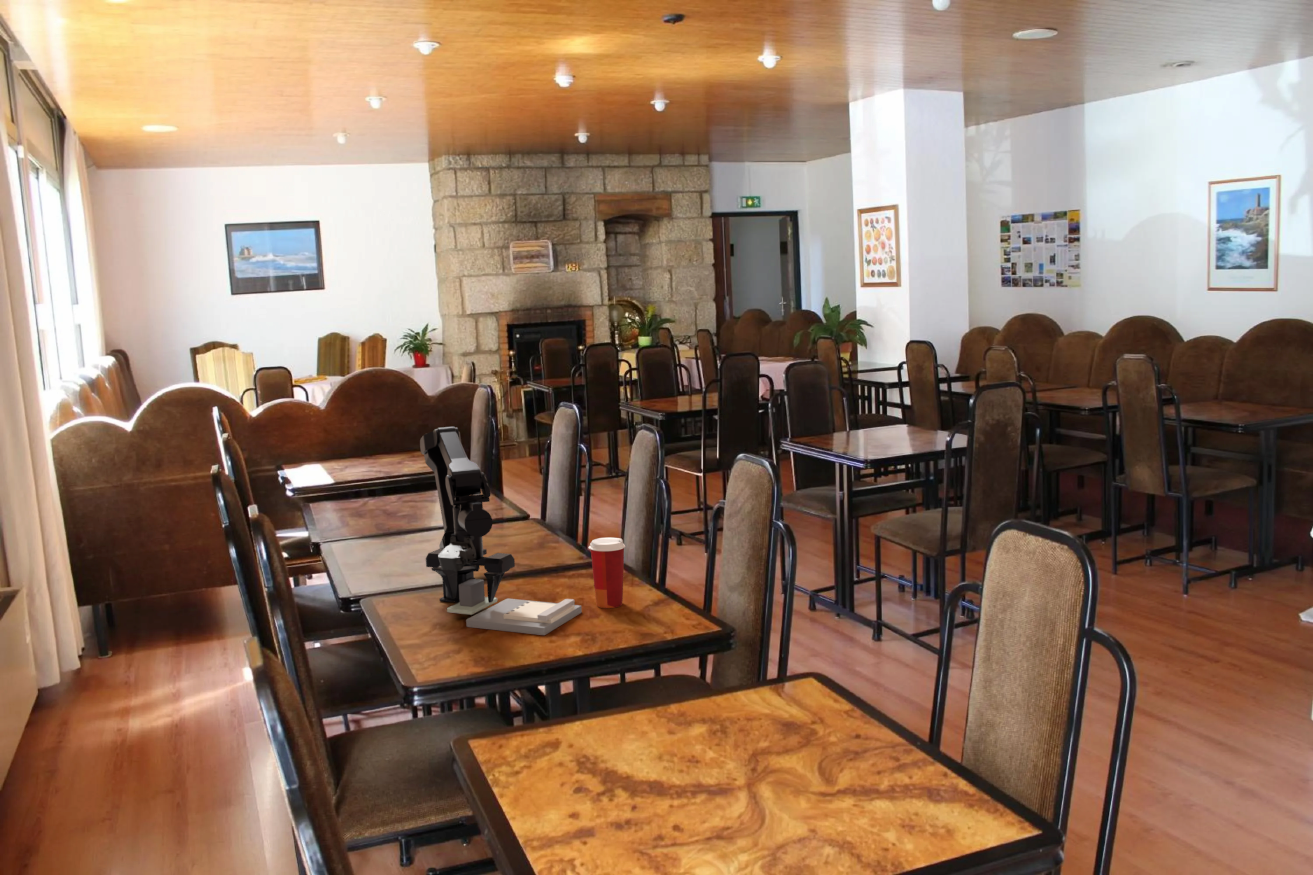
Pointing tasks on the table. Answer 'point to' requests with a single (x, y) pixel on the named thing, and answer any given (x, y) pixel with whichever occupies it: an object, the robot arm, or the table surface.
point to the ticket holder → (525, 616)
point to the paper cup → (608, 571)
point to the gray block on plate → (471, 598)
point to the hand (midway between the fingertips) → (472, 600)
